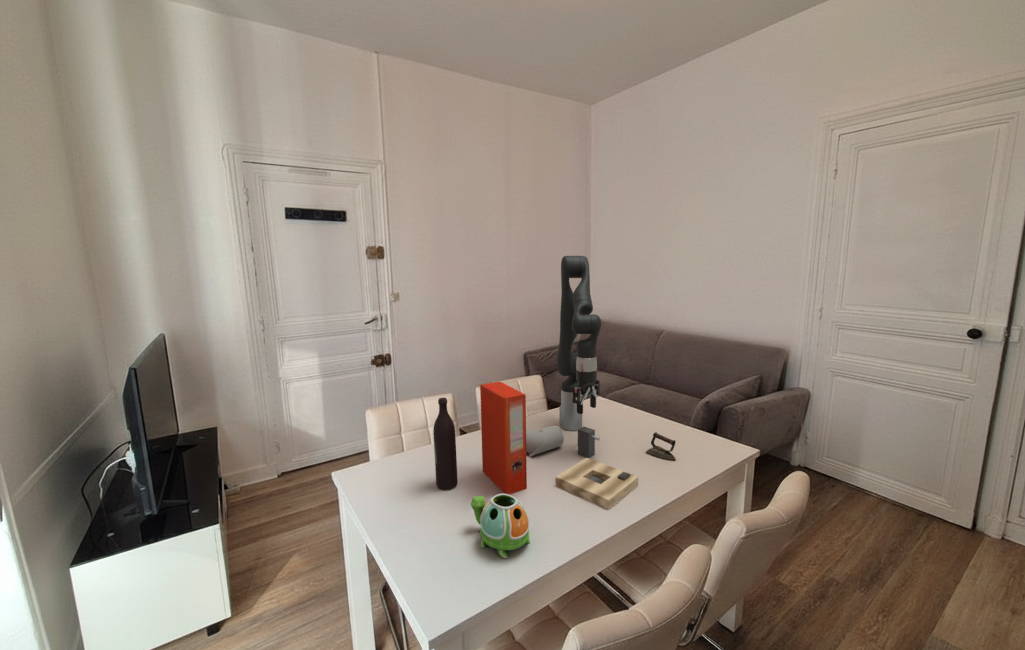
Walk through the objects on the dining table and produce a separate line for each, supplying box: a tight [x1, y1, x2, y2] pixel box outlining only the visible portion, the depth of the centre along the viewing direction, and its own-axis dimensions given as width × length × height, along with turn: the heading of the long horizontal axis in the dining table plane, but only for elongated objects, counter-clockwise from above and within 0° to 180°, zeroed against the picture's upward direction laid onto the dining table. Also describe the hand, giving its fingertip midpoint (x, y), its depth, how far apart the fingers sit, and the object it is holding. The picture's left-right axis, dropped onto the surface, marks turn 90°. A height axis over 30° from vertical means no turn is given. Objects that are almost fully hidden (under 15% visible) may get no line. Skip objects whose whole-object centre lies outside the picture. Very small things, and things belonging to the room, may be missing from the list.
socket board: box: [554, 457, 639, 510], centre depth 135 cm, size 20×18×4 cm
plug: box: [577, 426, 600, 459], centre depth 155 cm, size 8×4×10 cm, turn 46°
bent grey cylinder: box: [526, 425, 565, 457], centre depth 162 cm, size 18×11×20 cm
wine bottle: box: [432, 397, 458, 491], centre depth 135 cm, size 7×7×30 cm
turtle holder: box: [470, 493, 531, 559], centre depth 109 cm, size 12×18×12 cm
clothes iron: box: [645, 431, 676, 462], centre depth 154 cm, size 7×11×10 cm, turn 36°
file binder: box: [479, 381, 528, 495], centre depth 137 cm, size 8×17×32 cm, turn 29°
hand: (586, 410), depth 154 cm, fingers open, 8 cm apart
